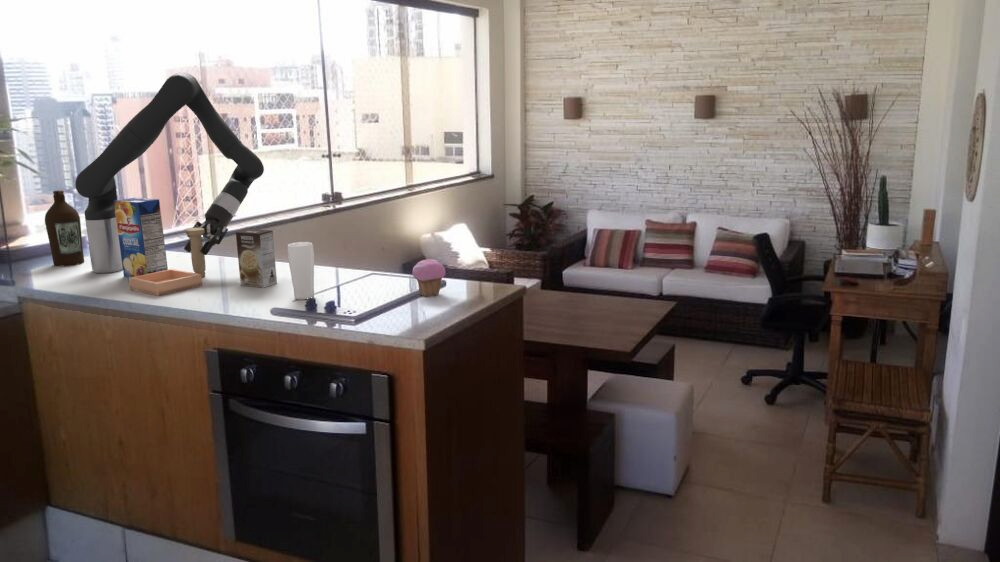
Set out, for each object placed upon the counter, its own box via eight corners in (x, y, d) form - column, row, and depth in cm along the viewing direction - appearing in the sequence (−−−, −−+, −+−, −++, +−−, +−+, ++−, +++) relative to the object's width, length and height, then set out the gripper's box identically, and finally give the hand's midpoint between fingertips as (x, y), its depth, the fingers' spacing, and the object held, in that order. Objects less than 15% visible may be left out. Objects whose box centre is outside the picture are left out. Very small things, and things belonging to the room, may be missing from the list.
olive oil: (47, 264, 282) (36, 191, 276) (80, 259, 289) (69, 188, 283) (57, 268, 274) (45, 193, 268) (90, 263, 281) (80, 190, 276)
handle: (198, 279, 251) (193, 231, 248) (187, 277, 255) (181, 229, 252) (213, 276, 255) (207, 228, 251) (201, 274, 259) (196, 227, 255)
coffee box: (239, 285, 242) (233, 231, 238) (254, 280, 247) (249, 228, 244) (264, 288, 238) (258, 233, 234) (278, 283, 243) (273, 229, 240)
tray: (130, 289, 240) (128, 277, 240) (173, 280, 251) (172, 268, 251) (158, 295, 232) (157, 283, 231) (202, 285, 243) (201, 274, 242)
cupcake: (441, 290, 229) (439, 254, 227) (450, 296, 221) (448, 260, 219) (410, 293, 226) (408, 258, 224) (418, 300, 218) (416, 263, 216)
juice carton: (123, 276, 258) (113, 200, 253) (144, 271, 265) (134, 197, 259) (148, 280, 252) (138, 202, 247) (168, 275, 259) (159, 199, 253)
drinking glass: (304, 302, 220) (299, 247, 217) (286, 299, 224) (281, 245, 220) (322, 296, 226) (318, 242, 222) (304, 293, 229) (300, 241, 226)
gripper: (201, 201, 260) (172, 243, 254) (228, 204, 252) (199, 247, 245) (217, 215, 265) (189, 256, 259) (244, 219, 257) (217, 261, 251)
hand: (194, 252), depth 252 cm, fingers open, 8 cm apart
